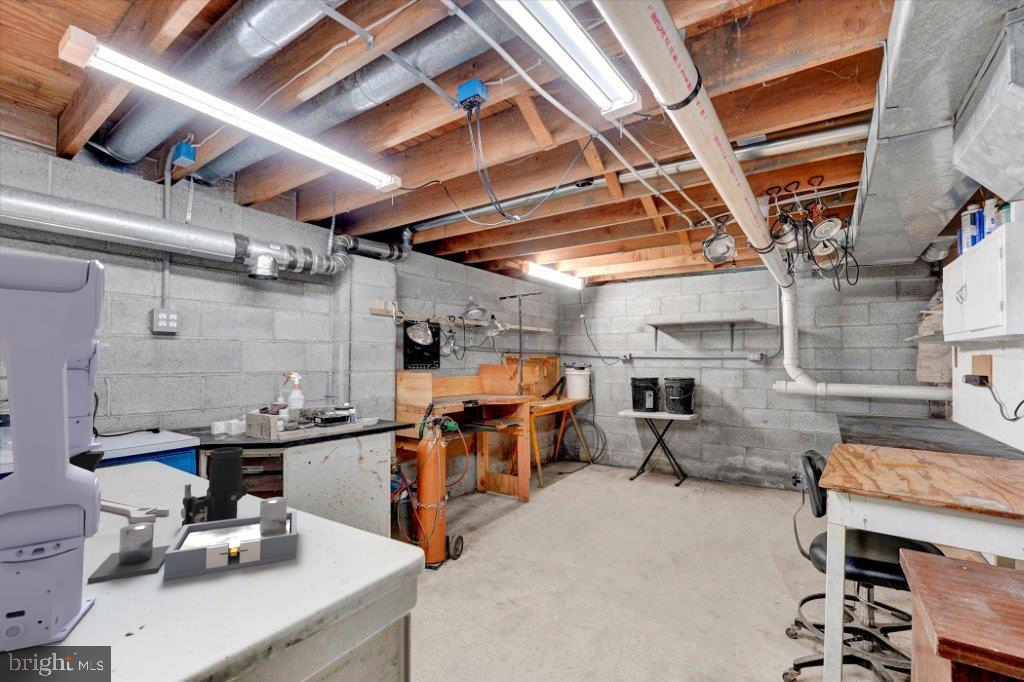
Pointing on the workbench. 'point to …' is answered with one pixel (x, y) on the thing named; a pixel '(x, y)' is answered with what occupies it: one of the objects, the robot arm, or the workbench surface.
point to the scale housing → (227, 549)
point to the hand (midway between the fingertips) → (63, 508)
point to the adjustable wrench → (135, 511)
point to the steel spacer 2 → (273, 515)
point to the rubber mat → (114, 570)
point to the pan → (227, 536)
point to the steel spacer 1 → (136, 543)
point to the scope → (217, 489)
